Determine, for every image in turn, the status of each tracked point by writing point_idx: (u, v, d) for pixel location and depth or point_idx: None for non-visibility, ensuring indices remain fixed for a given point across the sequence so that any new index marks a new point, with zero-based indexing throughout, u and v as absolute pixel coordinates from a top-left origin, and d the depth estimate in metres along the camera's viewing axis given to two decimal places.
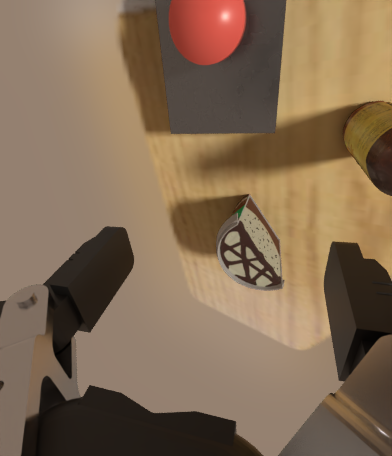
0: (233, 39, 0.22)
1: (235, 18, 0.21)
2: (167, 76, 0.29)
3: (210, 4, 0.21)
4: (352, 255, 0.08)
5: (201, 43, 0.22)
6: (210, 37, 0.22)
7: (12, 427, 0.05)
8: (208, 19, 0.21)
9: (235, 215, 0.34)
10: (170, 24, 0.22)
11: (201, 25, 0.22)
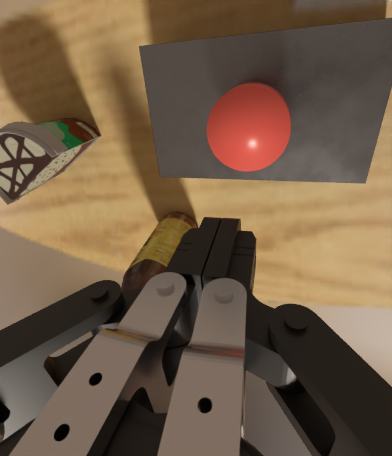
0: (228, 161, 0.21)
1: (245, 164, 0.21)
2: (206, 44, 0.22)
3: (259, 138, 0.20)
4: (229, 227, 0.10)
5: (226, 127, 0.20)
6: (231, 137, 0.20)
7: (81, 442, 0.04)
8: (247, 136, 0.20)
9: (63, 147, 0.29)
10: (247, 88, 0.18)
11: (243, 127, 0.20)
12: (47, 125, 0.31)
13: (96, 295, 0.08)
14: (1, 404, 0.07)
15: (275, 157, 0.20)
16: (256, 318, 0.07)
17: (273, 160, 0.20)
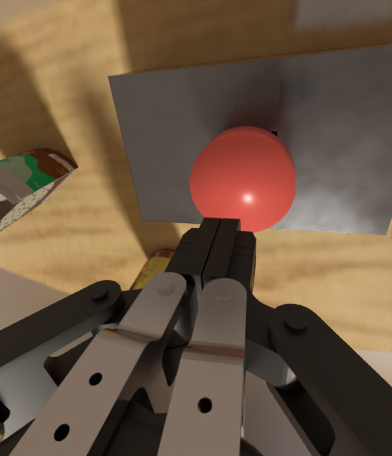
0: None
1: None
2: (188, 74, 0.18)
3: (256, 197, 0.16)
4: (229, 227, 0.10)
5: (214, 182, 0.16)
6: (221, 195, 0.16)
7: (81, 442, 0.04)
8: (240, 194, 0.16)
9: (28, 191, 0.24)
10: (239, 138, 0.14)
11: (234, 184, 0.15)
12: (12, 162, 0.27)
13: (96, 295, 0.08)
14: (1, 404, 0.07)
15: (276, 219, 0.16)
16: (256, 318, 0.07)
17: (274, 222, 0.16)
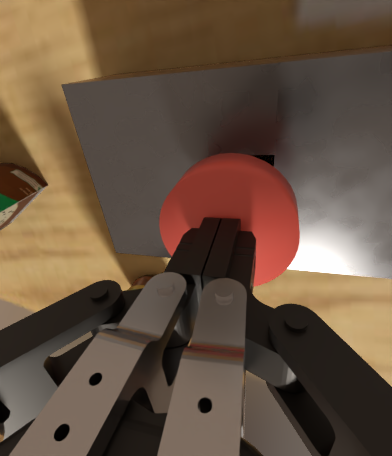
0: None
1: None
2: (160, 83, 0.14)
3: None
4: (229, 227, 0.10)
5: (191, 227, 0.12)
6: None
7: (81, 442, 0.04)
8: None
9: None
10: (221, 173, 0.10)
11: None
12: None
13: (96, 295, 0.08)
14: (1, 404, 0.07)
15: (274, 274, 0.12)
16: (256, 318, 0.07)
17: (270, 278, 0.12)
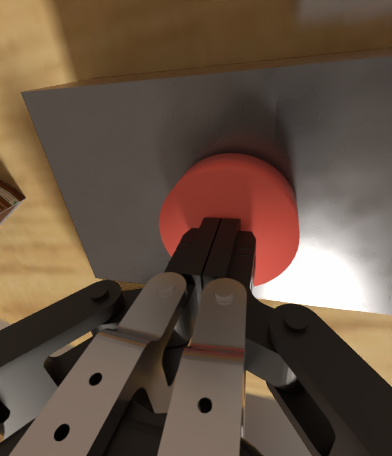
0: None
1: None
2: (135, 91, 0.12)
3: None
4: (229, 227, 0.10)
5: None
6: None
7: (81, 442, 0.04)
8: None
9: None
10: (221, 174, 0.10)
11: None
12: None
13: (96, 295, 0.08)
14: (1, 404, 0.07)
15: (274, 274, 0.12)
16: (256, 318, 0.07)
17: (270, 278, 0.12)
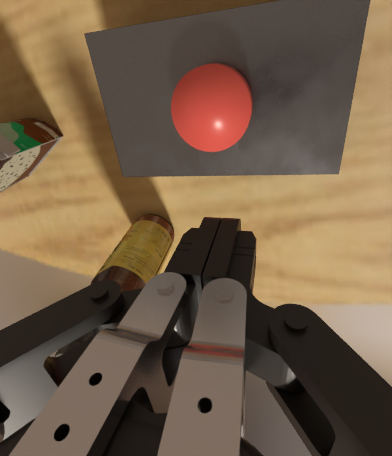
0: (195, 143, 0.22)
1: (211, 144, 0.21)
2: (156, 27, 0.20)
3: (222, 118, 0.20)
4: (229, 227, 0.10)
5: (190, 108, 0.20)
6: (195, 118, 0.21)
7: (80, 442, 0.04)
8: (210, 116, 0.20)
9: (15, 149, 0.26)
10: (206, 67, 0.19)
11: (205, 107, 0.20)
12: None
13: (96, 295, 0.08)
14: (1, 404, 0.07)
15: (239, 136, 0.21)
16: (256, 318, 0.07)
17: (237, 139, 0.21)
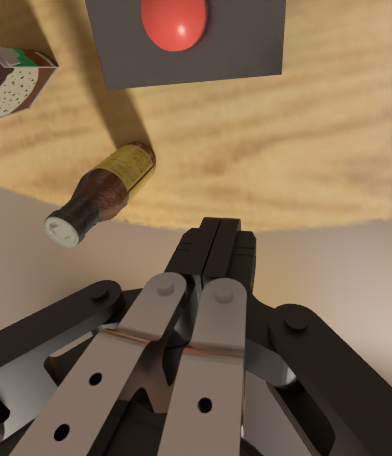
0: (161, 43, 0.27)
1: (174, 43, 0.26)
2: None
3: (181, 17, 0.25)
4: (229, 227, 0.10)
5: (156, 9, 0.25)
6: (160, 19, 0.25)
7: (81, 442, 0.04)
8: (172, 16, 0.25)
9: (16, 61, 0.31)
10: None
11: (168, 8, 0.25)
12: (3, 47, 0.34)
13: (96, 295, 0.08)
14: (1, 404, 0.07)
15: (195, 33, 0.25)
16: (256, 318, 0.07)
17: (194, 37, 0.26)
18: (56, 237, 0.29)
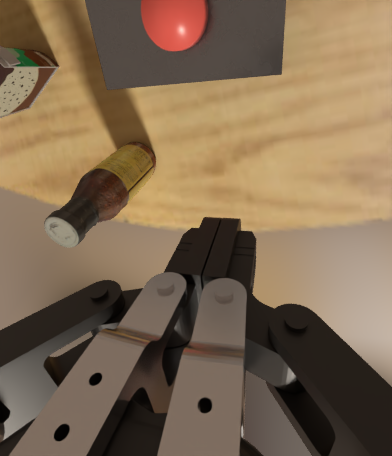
0: (161, 43, 0.27)
1: (174, 43, 0.26)
2: None
3: (181, 17, 0.25)
4: (229, 227, 0.10)
5: (156, 9, 0.25)
6: (160, 19, 0.25)
7: (80, 442, 0.04)
8: (172, 16, 0.25)
9: (16, 61, 0.31)
10: None
11: (168, 8, 0.25)
12: (3, 47, 0.34)
13: (96, 295, 0.08)
14: (1, 404, 0.07)
15: (195, 33, 0.25)
16: (256, 318, 0.07)
17: (194, 37, 0.26)
18: (56, 237, 0.29)
